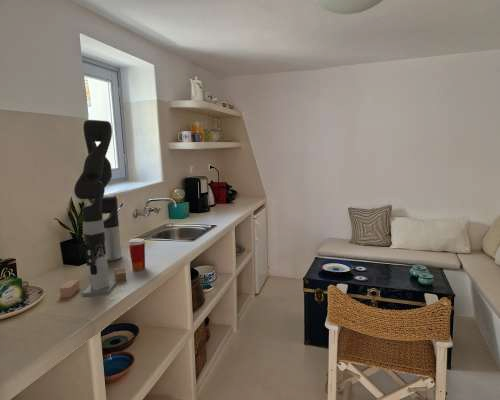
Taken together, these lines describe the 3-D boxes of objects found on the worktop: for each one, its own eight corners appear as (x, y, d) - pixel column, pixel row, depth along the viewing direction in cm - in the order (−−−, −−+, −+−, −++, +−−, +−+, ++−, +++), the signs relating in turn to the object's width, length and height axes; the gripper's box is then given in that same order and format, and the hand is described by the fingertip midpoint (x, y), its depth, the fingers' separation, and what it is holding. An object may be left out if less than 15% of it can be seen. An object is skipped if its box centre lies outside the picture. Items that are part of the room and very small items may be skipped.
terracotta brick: (69, 289, 140) (68, 280, 139) (79, 289, 140) (78, 279, 140) (60, 298, 132) (59, 288, 131) (71, 297, 132) (70, 287, 132)
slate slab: (91, 287, 143) (91, 283, 142) (116, 286, 144) (116, 281, 143) (82, 297, 133) (82, 293, 133) (109, 296, 134) (108, 291, 134)
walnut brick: (115, 277, 152) (114, 268, 152) (124, 275, 154) (123, 267, 153) (116, 283, 145) (115, 274, 144) (126, 281, 147) (125, 272, 146)
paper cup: (139, 265, 167) (137, 237, 165) (150, 267, 163) (148, 239, 161) (126, 270, 160) (124, 241, 158) (137, 272, 156) (135, 243, 154)
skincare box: (104, 283, 141) (102, 255, 140) (109, 286, 139) (107, 257, 137) (90, 288, 137) (87, 259, 135) (95, 291, 134) (92, 261, 132)
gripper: (91, 227, 141) (94, 265, 144) (76, 236, 127) (81, 277, 130) (109, 226, 142) (113, 264, 144) (97, 235, 128) (101, 276, 130)
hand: (98, 270), depth 137 cm, fingers open, 8 cm apart
